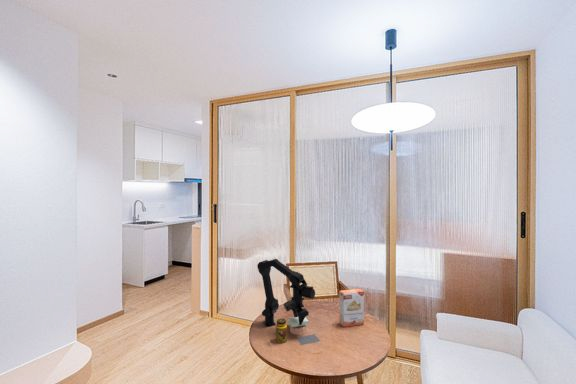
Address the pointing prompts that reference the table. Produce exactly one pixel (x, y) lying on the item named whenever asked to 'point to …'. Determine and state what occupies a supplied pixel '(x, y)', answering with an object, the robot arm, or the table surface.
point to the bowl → (298, 330)
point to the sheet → (297, 322)
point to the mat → (307, 339)
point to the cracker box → (351, 307)
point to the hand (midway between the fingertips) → (298, 322)
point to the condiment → (281, 331)
